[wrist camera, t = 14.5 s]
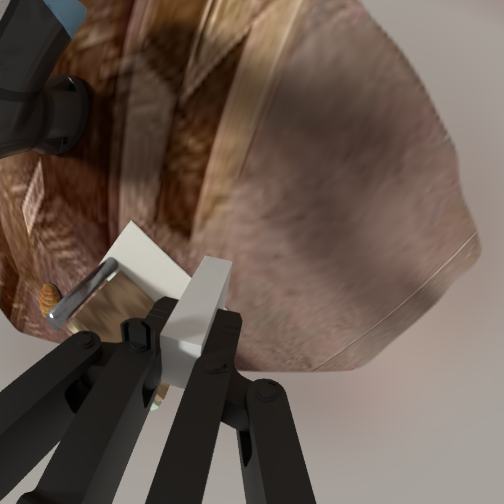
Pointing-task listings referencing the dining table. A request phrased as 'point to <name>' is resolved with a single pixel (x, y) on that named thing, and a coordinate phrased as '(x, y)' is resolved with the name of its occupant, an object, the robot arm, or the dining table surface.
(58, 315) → the hinge post
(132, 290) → the gate
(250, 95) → the dining table surface
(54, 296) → the pastry
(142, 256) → the mat
